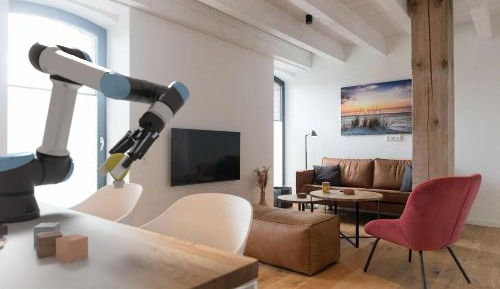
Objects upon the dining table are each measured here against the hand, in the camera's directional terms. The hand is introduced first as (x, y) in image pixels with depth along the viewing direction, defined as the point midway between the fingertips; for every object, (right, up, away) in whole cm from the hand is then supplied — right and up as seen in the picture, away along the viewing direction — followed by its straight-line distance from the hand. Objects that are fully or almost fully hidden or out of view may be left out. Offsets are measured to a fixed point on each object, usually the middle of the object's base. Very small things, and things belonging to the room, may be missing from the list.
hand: (107, 175), depth 98 cm
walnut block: (-10, -19, -11) cm, 24 cm away
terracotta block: (-3, -19, -14) cm, 24 cm away
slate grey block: (-16, -18, -2) cm, 24 cm away
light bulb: (+2, -4, +3) cm, 6 cm away
